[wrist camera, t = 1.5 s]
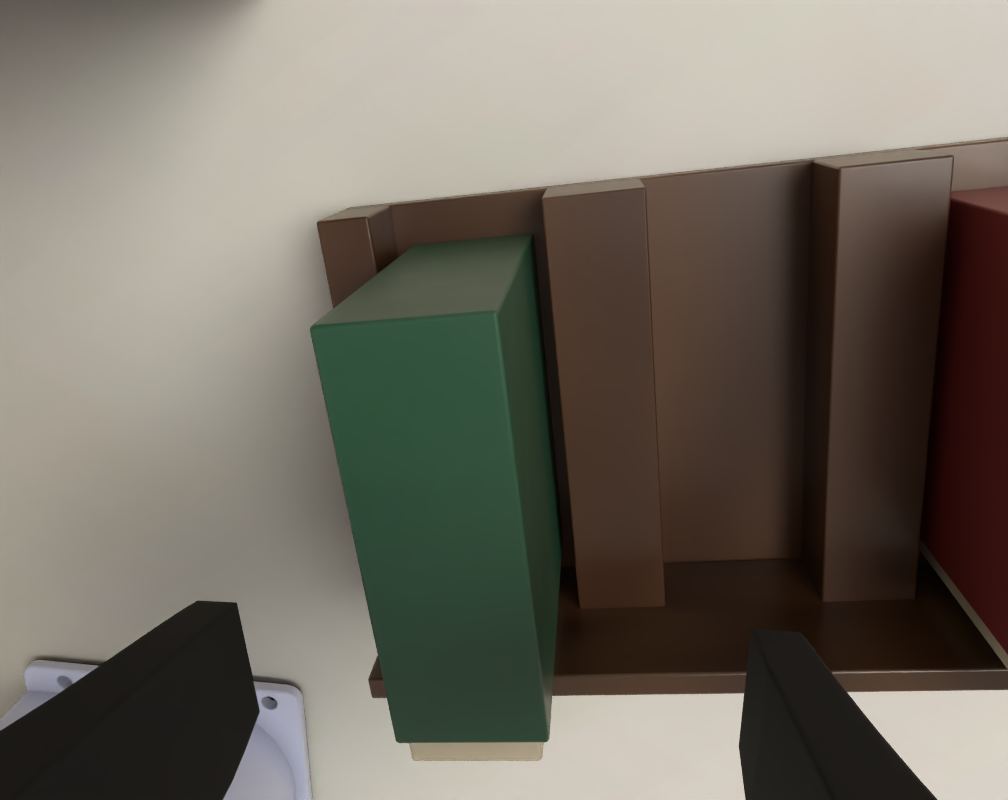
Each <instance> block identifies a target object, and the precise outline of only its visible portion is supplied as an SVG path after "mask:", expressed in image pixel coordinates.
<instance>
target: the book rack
mask: <svg viewBox="0 0 1008 800" xmlns="http://www.w3.org/2000/svg"><path fill="white" fill-rule="evenodd" d="M1005 186H1008V137H1006V138H997V139H987V140H978V141H969V142H959V143H950V144H941V145H931V146H922V147H912V148H903V149H894V150H884V151H875V152H866V153H856V154H847V155H838V156H828V157H819V158H810V159H800V160H791V161H781V162H772V163H763V164H753V165H744V166H735V167H725V168H716V169H707V170H697V171H688V172H679V173H669V174H660V175H650V176H641V177H632V178H622V179H613V180H604V181H594V182H585V183H576V184H566V185H557V186H548V187H538V188H529V189H519V190H510V191H501V192H491V193H482V194H473V195H463V196H454V197H445V198H435V199H426V200H416V201H407V202H398V203H388V204H379V205H370V206H360V207H351V208H348V209H346V210H344V211H341V212H339V213H337V214H334V215H332V216H330V217H327V218H325V219H323V220H320V221H318V222H317V227H318V232H319V238H320V243H321V248H322V253H323V258H324V263H325V268H326V273H327V278H328V283H329V289H330V294H331V299H332V304H333V309H334V308H335V307H336V306H338V305H339V304H340V303H341V302H343V301H344V300H345V299H346V298H348V297H349V296H350V295H351V294H353V293H354V292H355V291H357V290H358V289H359V288H360V287H362V286H363V285H364V284H365V283H367V282H368V281H369V280H370V279H372V278H373V277H374V276H376V275H377V274H378V273H379V272H381V271H382V270H383V269H384V268H386V267H387V266H388V265H389V264H391V263H392V262H393V261H395V260H396V259H397V258H398V257H400V256H401V255H402V254H403V253H405V252H406V251H407V250H408V249H410V248H411V247H412V246H414V245H417V244H427V243H438V242H448V241H458V240H468V239H478V238H488V237H499V236H509V235H519V234H529V233H530V234H533V236H534V246H535V256H536V267H537V277H538V287H539V297H540V307H541V317H542V327H543V338H544V348H545V358H546V368H547V378H548V388H549V399H550V409H551V419H552V429H553V439H554V449H555V459H556V470H557V480H558V490H559V500H560V510H561V520H562V530H563V540H562V555H561V570H560V585H559V600H558V614H557V629H556V644H555V659H554V674H553V689H552V696H569V695H646V694H724V693H744V692H745V683H746V673H747V663H748V654H749V644H750V634H751V629H755V630H774V631H794V632H800V633H801V634H802V635H803V636H804V637H805V638H806V639H807V640H808V642H809V643H810V644H811V646H812V647H813V649H814V650H815V651H816V653H817V654H818V655H819V657H820V658H821V659H822V661H823V662H824V663H825V665H826V666H827V667H828V668H829V670H830V671H831V672H832V674H833V675H834V676H835V678H836V679H837V680H838V682H839V683H840V684H841V685H842V687H843V688H844V689H845V691H846V692H879V691H956V690H1008V669H1007V668H1006V666H1005V665H1004V664H1003V662H1002V661H1001V659H1000V658H999V657H998V655H997V654H996V653H995V651H994V650H993V649H992V647H991V646H990V645H989V643H988V642H987V640H986V639H985V638H984V636H983V635H982V634H981V632H980V631H979V630H978V628H977V627H976V626H975V624H974V623H973V621H972V620H971V619H970V617H969V616H968V615H967V613H966V612H965V611H964V609H963V608H962V607H961V605H960V604H959V602H958V601H957V600H956V598H955V597H954V596H953V594H952V593H951V592H950V590H949V589H948V588H947V586H946V585H945V583H944V582H943V581H942V579H941V578H940V577H939V575H938V574H937V573H936V571H935V570H934V569H933V567H932V566H931V564H930V563H929V562H928V560H927V559H926V558H925V556H924V555H923V554H922V552H921V551H920V550H919V545H920V534H921V523H922V512H923V501H924V490H925V478H926V467H927V456H928V445H929V434H930V423H931V412H932V400H933V389H934V378H935V367H936V356H937V345H938V334H939V322H940V311H941V300H942V289H943V278H944V267H945V256H946V244H947V233H948V222H949V211H950V200H951V192H955V191H965V190H975V189H985V188H995V187H1005ZM368 680H369V685H370V690H371V694H372V697H373V698H387V696H386V691H385V686H384V681H383V676H382V672H381V667H380V662H379V657H378V656H377V658H376V661H375V663H374V666H373V669H372V671H371V674H370V676H369V679H368Z"/></svg>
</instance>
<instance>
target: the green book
mask: <svg viewBox="0 0 1008 800" xmlns="http://www.w3.org/2000/svg"><path fill="white" fill-rule="evenodd" d="M310 332H311V337H312V342H313V347H314V351H315V356H316V361H317V366H318V370H319V375H320V380H321V385H322V390H323V394H324V399H325V404H326V409H327V413H328V418H329V423H330V428H331V433H332V437H333V442H334V447H335V452H336V457H337V461H338V466H339V471H340V476H341V480H342V485H343V490H344V495H345V500H346V504H347V509H348V514H349V519H350V523H351V528H352V533H353V538H354V543H355V547H356V552H357V557H358V562H359V566H360V571H361V576H362V581H363V586H364V590H365V595H366V600H367V605H368V610H369V614H370V619H371V624H372V629H373V633H374V638H375V643H376V648H377V653H378V657H379V662H380V667H381V672H382V676H383V681H384V686H385V691H386V696H387V700H388V705H389V710H390V715H391V720H392V724H393V729H394V734H395V739H396V741H397V742H398V743H409V745H410V750H411V755H412V759H413V760H415V761H539V760H541V758H542V753H543V742H547V741H548V739H549V734H550V719H551V704H552V689H553V674H554V659H555V644H556V629H557V614H558V600H559V585H560V570H561V555H562V540H563V530H562V520H561V510H560V500H559V490H558V480H557V470H556V459H555V449H554V439H553V429H552V419H551V409H550V399H549V388H548V378H547V368H546V358H545V348H544V338H543V327H542V317H541V307H540V297H539V287H538V277H537V267H536V256H535V246H534V236H533V234H530V233H529V234H519V235H509V236H499V237H488V238H478V239H468V240H458V241H448V242H438V243H427V244H417V245H414V246H412V247H411V248H410V249H408V250H407V251H406V252H405V253H403V254H402V255H401V256H400V257H398V258H397V259H396V260H395V261H393V262H392V263H391V264H389V265H388V266H387V267H386V268H384V269H383V270H382V271H381V272H379V273H378V274H377V275H376V276H374V277H373V278H372V279H370V280H369V281H368V282H367V283H365V284H364V285H363V286H362V287H360V288H359V289H358V290H357V291H355V292H354V293H353V294H351V295H350V296H349V297H348V298H346V299H345V300H344V301H343V302H341V303H340V304H339V305H338V306H336V307H335V308H334V309H333V310H331V311H330V312H329V313H327V314H326V315H325V316H324V317H322V318H321V319H320V320H319V321H317V322H316V323H315V324H314V325H312V326H311V328H310Z"/></svg>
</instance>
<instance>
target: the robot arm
mask: <svg viewBox="0 0 1008 800" xmlns="http://www.w3.org/2000/svg"><path fill="white" fill-rule="evenodd" d="M23 675H24V680H25V684H26V688H27V692H26V693H25V694H24V695H23V696H22V697H21V698H20V700H19V701H18V702H17V703H16V704H15V705H14V706H13V707H12V708H11V709H10V710H9V711H8V712H7V713H6V714H5V715H4V716H3V717H2V718H1V719H0V800H312V791H311V780H310V769H309V757H308V746H307V735H306V724H305V712H304V701H303V696H302V693H301V692H300V691H299V690H298V689H297V688H296V687H294V686H291V685H287V684H277V683H267V682H257V681H253V677H252V672H251V667H250V663H249V658H248V653H247V649H246V644H245V639H244V635H243V630H242V625H241V621H240V616H239V611H238V607H237V603H233V602H213V601H196V602H195V603H193V604H191V605H190V606H188V607H186V608H185V609H183V610H181V611H180V612H178V613H177V614H175V615H174V616H172V617H171V618H169V619H168V620H166V621H165V622H163V623H162V624H160V625H159V626H157V627H156V628H154V629H153V630H151V631H150V632H148V633H147V634H145V635H144V636H142V637H141V638H139V639H138V640H137V641H135V642H134V643H132V644H131V645H129V646H128V647H126V648H125V649H123V650H122V651H121V652H119V653H118V654H116V655H115V656H113V657H112V658H110V659H109V660H107V661H106V662H104V663H103V664H101V665H100V666H97V665H87V664H77V663H67V662H57V661H47V660H35V661H33V662H32V663H31V664H30V665H29V666H28V667H27V668H26V669H25V670H24V672H23ZM268 696H269V697H272V698H274V699H275V700H276V701H275V700H271V699H270V698H269V697H268ZM739 750H740V758H741V766H742V775H743V783H744V790H745V798H746V800H937V799H936V797H935V796H934V795H933V794H932V793H931V792H930V791H929V790H928V789H927V787H926V786H925V785H924V784H923V783H922V782H921V781H920V780H919V778H918V777H917V776H916V775H915V774H914V773H913V772H912V770H911V769H910V768H909V767H908V766H907V765H906V763H905V762H904V761H903V760H902V759H901V758H900V756H899V755H898V754H897V753H896V752H895V750H894V749H893V748H892V747H891V746H890V745H889V743H888V742H887V741H886V740H885V739H884V738H883V736H882V735H881V734H880V733H879V732H878V730H877V729H876V728H875V727H874V726H873V724H872V723H871V722H870V721H869V719H868V718H867V717H866V716H865V715H864V713H863V712H862V711H861V710H860V708H859V707H858V706H857V705H856V703H855V702H854V701H853V699H852V698H851V697H850V696H849V694H848V693H847V692H846V691H845V689H844V688H843V687H842V685H841V684H840V683H839V682H838V680H837V679H836V678H835V676H834V675H833V674H832V672H831V671H830V670H829V668H828V667H827V666H826V665H825V663H824V662H823V661H822V659H821V658H820V657H819V655H818V654H817V653H816V651H815V650H814V649H813V647H812V646H811V644H810V643H809V642H808V640H807V639H806V638H805V637H804V636H803V635H802V634H801V633H800V632H794V631H774V630H755V629H751V634H750V644H749V654H748V663H747V673H746V683H745V692H744V702H743V712H742V721H741V731H740V741H739Z"/></svg>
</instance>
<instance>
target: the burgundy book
mask: <svg viewBox="0 0 1008 800" xmlns="http://www.w3.org/2000/svg"><path fill="white" fill-rule="evenodd" d="M919 550H920V551H921V552H922V554H923V555H924V556H925V558H926V559H927V560H928V562H929V563H930V564H931V566H932V567H933V569H934V570H935V571H936V573H937V574H938V575H939V577H940V578H941V579H942V581H943V582H944V583H945V585H946V586H947V588H948V589H949V590H950V592H951V593H952V594H953V596H954V597H955V598H956V600H957V601H958V602H959V604H960V605H961V607H962V608H963V609H964V611H965V612H966V613H967V615H968V616H969V617H970V619H971V620H972V621H973V623H974V624H975V626H976V627H977V628H978V630H979V631H980V632H981V634H982V635H983V636H984V638H985V639H986V640H987V642H988V643H989V645H990V646H991V647H992V649H993V650H994V651H995V653H996V654H997V655H998V657H999V658H1000V659H1001V661H1002V662H1003V664H1004V665H1005V666H1006V668H1007V669H1008V186H1005V187H995V188H985V189H975V190H965V191H955V192H951V200H950V211H949V222H948V233H947V244H946V256H945V267H944V278H943V289H942V300H941V311H940V322H939V334H938V345H937V356H936V367H935V378H934V389H933V400H932V412H931V423H930V434H929V445H928V456H927V467H926V478H925V490H924V501H923V512H922V523H921V534H920V545H919Z"/></svg>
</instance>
